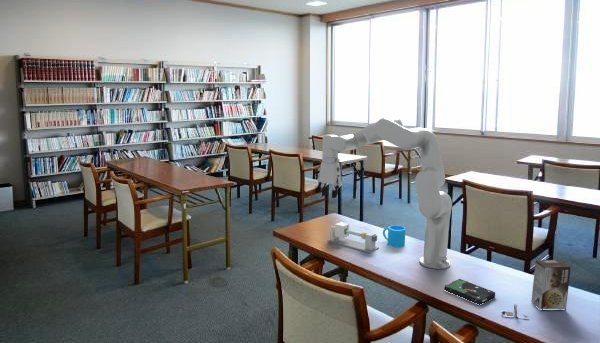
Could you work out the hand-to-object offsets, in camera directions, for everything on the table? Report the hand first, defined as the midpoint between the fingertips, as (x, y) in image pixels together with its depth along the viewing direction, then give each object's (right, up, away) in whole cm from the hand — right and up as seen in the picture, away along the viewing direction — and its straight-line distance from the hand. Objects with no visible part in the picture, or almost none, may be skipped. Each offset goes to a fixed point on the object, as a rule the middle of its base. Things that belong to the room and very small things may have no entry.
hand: (329, 196), depth 223 cm
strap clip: (+57, -37, -71) cm, 98 cm away
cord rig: (+11, -23, -5) cm, 26 cm away
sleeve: (+6, -19, -2) cm, 20 cm away
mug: (+31, -23, -2) cm, 38 cm away
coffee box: (+72, -35, -65) cm, 103 cm away
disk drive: (+48, -34, -55) cm, 81 cm away
